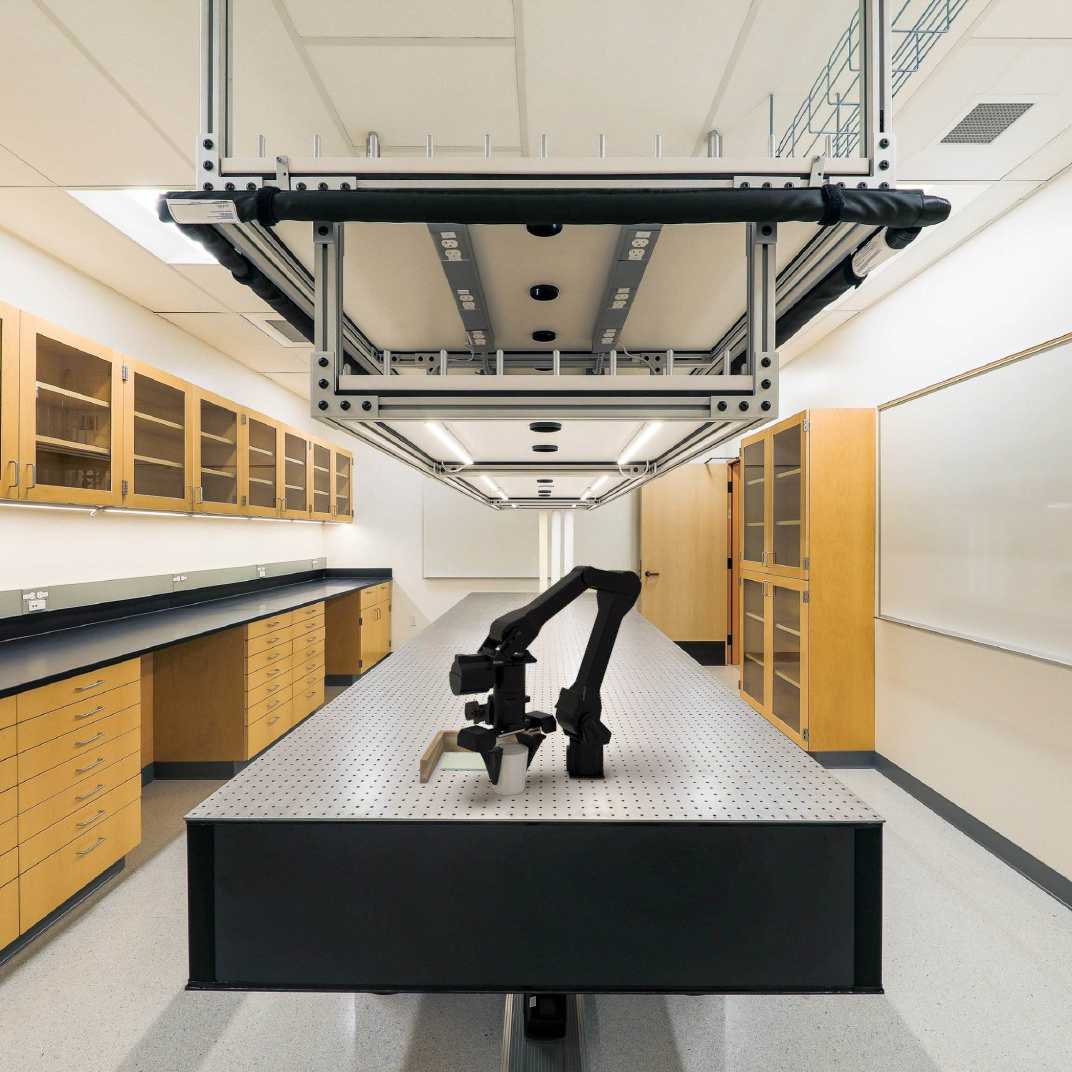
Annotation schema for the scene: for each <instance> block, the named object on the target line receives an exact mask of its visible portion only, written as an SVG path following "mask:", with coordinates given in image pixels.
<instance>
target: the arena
mask: <svg viewBox="0 0 1072 1072" xmlns="http://www.w3.org/2000/svg"><path fill="white" fill-rule="evenodd" d="M459 731H460V730H450V729H449V730H442V729H440V730H438V731H437V733H436V734H435V736H434V738H433V739H432V741H431V742H430V744H429V746H428V747H427V749H426V750H425V752H424V753H423V755H422V757H421V758H420V760H419V765H420V766H419V783H420V784H424V783H425V784H427V783H428V782H429V780H430V777H431V775H432V774H433V772H434V770H435V768H436V766H437V764H438V763H439V760H440V759H441V757H442V756H443V753H444V752H445V753H446V752H447V753H473V752H472V751H470V750H467V749H465V748H462V747H460V746H457V734H458V732H459ZM502 732H503V731H502ZM500 743H518V741H517V738H516V736H515V734H514V735H510V736H506V737H502V738H499V739H498V744H500Z"/></svg>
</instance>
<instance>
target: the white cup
mask: <svg viewBox="0 0 1072 1072" xmlns="http://www.w3.org/2000/svg"><path fill="white" fill-rule="evenodd" d="M498 747H501V748H503V756H502V762H501V768H500V774H499V779H498V783H497V785H493V784H492V783H491V787H492V789H491V790H492V791H493V792H494V793H495V794H497V795H503V796H514V795H515V796H516V795H519V794H521V793H522V792H524V791H525V787H526V786H525V785H526V777H527V776H526V775H527V772H526V768H527V758H528V747H527V746H525V745H522V744H518V743H500V744H498Z"/></svg>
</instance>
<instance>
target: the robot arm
mask: <svg viewBox="0 0 1072 1072" xmlns="http://www.w3.org/2000/svg"><path fill="white" fill-rule="evenodd" d="M642 588H643V583H642V581H641V579H640V577H639V576H638V574H637V573H636V572H635V571H632V570H624V569H623V570H621V569H619V570H618V569H610V570H606V569H602V568H597V567H594V566H591V565H576V566H574V567H573V568H572V569H570V572H569V573H567V574H565V575H564V576H563V577H561V579H559V580H558V581H556V582H555V583H554V584H553V585H551V586H550V587H548V589H546V590H545V591H544V592H542V593H541V594H540V595H538V596H537V597H536V598H534V599H533V600H532V601H530V602H529V603H528V604H526V605H524V606H522V607H519V608H517V609H513V610H511V611H509V612H507V613H504V614H503V615H501V616H500V617H497V618H495V619H494V621H492V622H491V624H490V625H489V631H488V634H487V636H486V638H485V639H484V640H483V642H482V644H481V645H480V647H479V648H478V649H477V651H476V653H470V654H465V653H455V654H454V661H453V662H452V664H451V667H450V671H448V672H449V673H448V678H449V679H448V681H449V687H450V689H451V692H452V693H451V694H453V695H454V696H455V697H459V696H460V697H461V696H467V695H468V696H469V695H477V694H478V695H479V694H486V693H489V692H490V690H491V689H492V693H491V694H488V695H487V702H486V703H482V704H480V703H479V701H478V699H477V700H471V701H467V702H465V703H464V712H463V713H464V717H465V720H466V721H467V722H469V721H473V725H471V726H467V727H463V728H460V729H459V730H458V731H459V732H458V734H457V746H460V747H462V748H465V749H467V750H470V751H472V752H471V753H480V754H481V756H482V758H483V761H484V763H485V766H486V769H487V771H486V772H487V774H488V777H489V781H490V783H491V785H492V784H493V785H497V783H498V779H499V774H500V768H501V762H502V756H503V748H501V747H498V739H499V738H502V737H506V736H510V735H514V734H515V736H516V738H517V741H518V744H522V745H525V746H527V747H528V758H527V768H526V773H527V772H528V770H529V768H530V766H531V763H532V761H533V760H534V757H535V755H536V754H537V751H538V750H539V748H540V746H541V744H542V743H543V741H544V740H546V739H547V734H551V733H555V732H557V729H558V728H557V727H558V726H560V728H562V732H563V734H564V736H566V737H568V738H569V740H568V741H569V742H568V744H567V745H566V746H565V770H566V772H567V773H568V778H569V779H588V780H589V779H593V780H594V779H595V780H596V779H597V780H601V779H602V780H603V779H605V778H606V776H605V771H604V746H605V745H609V744H610V742H611V737H612V735H613V734H612V731H611V730H610V729H609V728H608V727H607V726H606V725H605V724H604V723H603V721H601V717H602V711H603V704H602V698H601V689H602V685H603V682H604V678H605V675H606V672H607V669H608V665H609V663H610V662H609V661H610V660H611V656H612V653H613V650H614V647H615V643H616V641H617V637H618V634H619V631H620V628H621V624H622V621H623V619H624V618H625V616H626V615H627V614H628V613H629V612H630V611H631V610H632V608H633V607H634V606H635V605H636V604H637V601H638V599H639V596H640V595H641V592H642ZM588 589H590V590H592V591H596V594H595V597H596V604H597V614H596V617H595V618H594V623H593V626H592V629H591V631H590V635H589V638H588V641H587V645H586V648H585V651H584V653H583V654H584V655H583V656H582V660H581V663H580V665H579V669H578V671H577V675H576V679H575V681H574V682H573V683H572V685H570V687H569V688H566V687H563V686H562V687H561V689H560V690H559V696H558V699H557V702H556V703H555V705H554V706H553V707H554V708H555V709H556V710H555V716H554V714H550V713H548V712H544V711H539V710H532V711H529V712H526V704H527V703H531V695H527V694H526V691H527V690H526V682H527V681H526V679H527V678H526V677H527V675H526V674H527V672H526V671H527V670H526V668H527V665H528V664H536V663H538V659H537V658H536V657H535V656H534V655H533V654H531V651H530V650H529V649H528V647H530V645H531V644H532V643H533V642H534V641H535V640H536V639H537V637H538V636H539V634H540V632H541V630H542V629H543V626H544V625H545V624H546V623H547V622H549V621H550V620H551V619H552V618H554V617H555V616H556V615H557V614H558V613H560V612H561V611H562V610H564V609H565V608H567V606H568V605H570V604H571V603H572V602H573V601H575V600H576V599H577V598H579V597H580V596H581V595H583V593H585V592H586V591H587V590H588ZM483 722H484V724H485V725H487V726H492V727H491V728H487V727H484V726H482V725H479V724H480V723H483ZM557 724H558V726H557ZM502 731H503V732H502ZM542 732H543V733H542Z"/></svg>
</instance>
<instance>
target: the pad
mask: <svg viewBox="0 0 1072 1072" xmlns="http://www.w3.org/2000/svg"><path fill="white" fill-rule="evenodd" d="M440 770H441V771H481V772H482V771H486V772H487V769H486V766H485V763H484V761H483V758H482V756H481V754H480V753H475V752H447V755H446V757H445V759H444V761H443V762H442V765H441V766H440Z"/></svg>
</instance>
